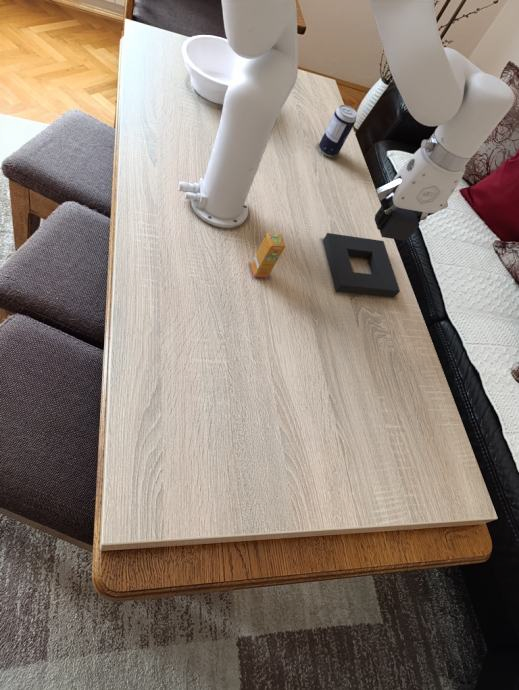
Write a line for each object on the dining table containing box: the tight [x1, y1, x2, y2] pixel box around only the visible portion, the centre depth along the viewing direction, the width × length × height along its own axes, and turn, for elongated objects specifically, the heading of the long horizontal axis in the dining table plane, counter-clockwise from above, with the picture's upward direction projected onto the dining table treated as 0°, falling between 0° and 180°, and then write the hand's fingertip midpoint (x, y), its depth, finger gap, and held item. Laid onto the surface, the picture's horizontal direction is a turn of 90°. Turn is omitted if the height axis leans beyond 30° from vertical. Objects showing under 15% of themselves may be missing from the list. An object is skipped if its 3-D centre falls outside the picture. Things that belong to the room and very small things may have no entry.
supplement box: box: [250, 232, 286, 278], centre depth 99 cm, size 3×3×10 cm
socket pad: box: [322, 232, 401, 299], centre depth 112 cm, size 15×15×2 cm
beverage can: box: [318, 104, 358, 158], centre depth 128 cm, size 6×6×12 cm
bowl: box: [181, 34, 247, 105], centre depth 128 cm, size 21×21×8 cm
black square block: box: [374, 201, 421, 242], centre depth 98 cm, size 6×6×4 cm
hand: (392, 226), depth 99 cm, fingers closed on black square block, 5 cm apart
